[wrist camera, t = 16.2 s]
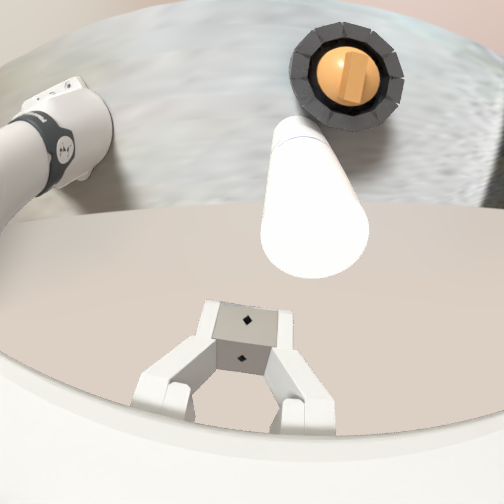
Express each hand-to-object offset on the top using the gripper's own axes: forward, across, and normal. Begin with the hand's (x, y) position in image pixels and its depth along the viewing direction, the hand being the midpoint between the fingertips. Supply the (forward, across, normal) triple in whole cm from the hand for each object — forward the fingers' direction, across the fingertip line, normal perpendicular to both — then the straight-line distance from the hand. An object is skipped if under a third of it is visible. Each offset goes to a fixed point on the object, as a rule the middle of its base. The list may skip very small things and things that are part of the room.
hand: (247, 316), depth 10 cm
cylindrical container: (+34, -4, +2) cm, 35 cm away
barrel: (+34, -7, -8) cm, 36 cm away
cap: (+26, -7, -8) cm, 28 cm away
